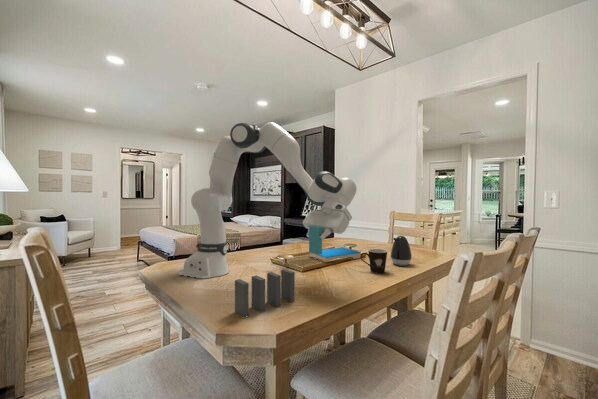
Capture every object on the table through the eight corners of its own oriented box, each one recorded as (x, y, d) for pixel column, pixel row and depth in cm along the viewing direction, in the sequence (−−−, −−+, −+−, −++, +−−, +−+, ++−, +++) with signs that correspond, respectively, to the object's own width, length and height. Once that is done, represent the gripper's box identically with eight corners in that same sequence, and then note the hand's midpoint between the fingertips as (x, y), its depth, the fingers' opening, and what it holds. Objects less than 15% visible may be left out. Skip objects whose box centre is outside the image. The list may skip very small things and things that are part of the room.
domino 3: (276, 307, 88) (276, 276, 88) (267, 302, 92) (267, 272, 92) (280, 305, 89) (280, 275, 89) (271, 300, 93) (271, 271, 93)
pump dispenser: (386, 263, 145) (386, 234, 144) (400, 261, 149) (401, 233, 149) (400, 268, 135) (401, 237, 135) (415, 265, 140) (416, 236, 139)
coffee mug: (389, 271, 130) (389, 250, 130) (383, 275, 123) (384, 253, 123) (365, 267, 137) (366, 247, 136) (359, 271, 130) (359, 250, 129)
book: (361, 252, 157) (326, 256, 144) (361, 259, 157) (325, 264, 144) (342, 246, 171) (308, 250, 159) (341, 253, 171) (308, 257, 159)
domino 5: (318, 254, 101) (318, 227, 100) (309, 252, 105) (309, 226, 104) (322, 254, 102) (322, 227, 102) (312, 251, 106) (312, 226, 106)
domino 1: (243, 318, 80) (243, 284, 80) (234, 312, 84) (234, 280, 84) (248, 316, 81) (248, 283, 81) (240, 310, 85) (240, 279, 85)
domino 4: (290, 302, 92) (290, 273, 92) (281, 297, 96) (281, 269, 96) (294, 301, 93) (294, 272, 93) (285, 296, 97) (285, 268, 97)
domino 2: (260, 312, 84) (260, 280, 84) (251, 307, 88) (251, 276, 88) (265, 310, 85) (265, 279, 85) (256, 305, 89) (256, 275, 89)
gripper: (310, 204, 115) (292, 229, 109) (348, 206, 100) (330, 235, 94) (317, 214, 118) (300, 239, 112) (355, 218, 103) (338, 247, 97)
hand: (314, 237), depth 103 cm, fingers closed on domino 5, 5 cm apart
